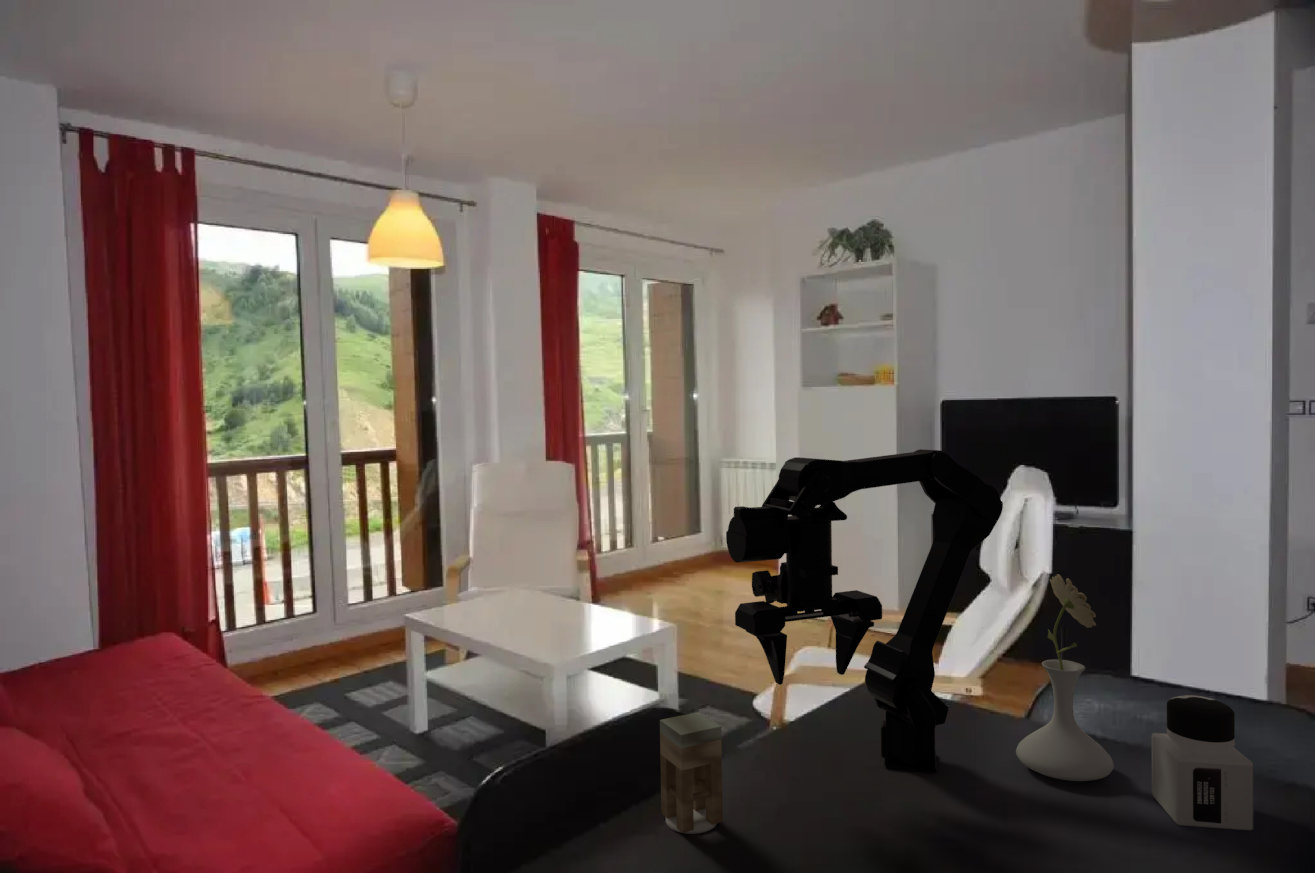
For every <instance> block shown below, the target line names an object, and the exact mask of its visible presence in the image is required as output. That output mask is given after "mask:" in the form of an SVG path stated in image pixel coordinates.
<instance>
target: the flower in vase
mask: <svg viewBox="0 0 1315 873" xmlns="http://www.w3.org/2000/svg"><path fill="white" fill-rule="evenodd" d="M1049 582H1050V584H1051V589H1052V592H1053V594H1054V596H1055V597H1056V598H1057V599H1058V600H1059V601H1058V602H1060V604H1061V605H1062V607H1061V609H1060V611H1059V614H1058V615H1057V616H1058V617H1057V619H1056V621H1055V624H1054V628H1053V633H1052V632H1051V630H1050V629H1047V631H1048V632H1047V633H1048V634H1047V638H1048V640H1051V641H1052V642H1053V643H1054V647H1055V651H1056V652H1055V654H1056V655H1057V659H1047V660H1044V661H1042V662H1041V665H1042V667H1043V668H1044V669H1045V671H1046V673H1047V674H1048V676H1049V678H1050V682H1051V686H1052V692H1053V713H1052V714H1053V715H1052V718H1051V720H1050V721H1049V722H1048V723H1047V724H1045V725H1044V726H1042V727H1040V728H1038V729H1037V730H1035V731H1033V732H1032V733H1030V734H1028V735H1026V736H1025V737H1024V738H1023V739H1022V740H1021V741H1019V743H1018V744H1017V747H1016V749H1015V754H1016V756H1017V757H1018V759H1019V761H1020V762H1021V763H1022V764H1023V765H1024V766H1025V767H1027V768H1028V769H1030V770H1033V771H1034V772H1037V773H1039V774H1041V775H1043V776H1046V777H1049V778H1053V779H1057V780H1058V779H1059V780H1064V781H1070V782H1072V781H1073V782H1087V781H1097V780H1100V779H1104V778H1106V777H1108V776H1109V775H1110V774H1111V773H1112V771H1113V770H1114V768H1115V765H1114V761H1113V759H1112V757H1111V755H1110V754H1109V753H1108V752H1107V751H1106V750H1105V748H1104V747H1103V746H1102V745H1101V744H1099V743H1098V742H1097V741H1096V740H1094V739H1093V738H1092V737H1091V736H1089V734H1087V733H1086V732H1085V731H1084V730H1083V729H1081V727H1080V726H1079V725H1078V724H1077V721H1076V720H1075V715H1074V694H1075V689H1076V686H1077V682H1078V680H1079V678H1080V675H1081V674H1082V673H1083V672H1084V670H1086V666H1085V665H1083V664H1081V663H1079V662H1076V661H1074V660H1073V661H1072V660H1067V659H1062V656H1061V653H1064V652H1066V651H1067V650H1070V649H1073V648H1076V647H1078V644H1077V643H1076V642H1075V641H1074V642H1073V643H1071V645H1070V646H1067V647H1064V648H1061V649H1060V650H1059V644H1058V640H1057V639H1058V638H1057V630H1058V626H1059V623H1060V621H1061V619H1062V616H1063V614H1064V612H1065V611H1066V612H1067V613H1068V614H1070V615H1071V616H1072V618H1073V619H1074V620H1076V621H1077V622H1078V623H1079V624H1080V625H1082V626H1085V628H1086V629H1088V628H1089V629H1090V628H1093V627H1096V626H1097V623H1096V621H1095V620H1094V618H1096V617H1097V615H1096V613H1095V612H1094V610H1092V609H1091V608H1092V607H1091V605H1090V604H1089V603H1087V600H1088V598H1087V595H1086V594H1084V593H1083V592H1079V590H1078V588H1077V587H1076V586H1075V585H1073V582H1072V580H1071V579H1070V578H1066V579H1065V581H1064V578H1063V576H1061V574H1058V573H1057V574H1056V575H1054V576H1051V578H1049Z"/></svg>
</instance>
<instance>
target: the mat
mask: <svg viewBox="0 0 1315 873" xmlns="http://www.w3.org/2000/svg"><path fill="white" fill-rule="evenodd" d="M693 816H694V830H691V831H688V832H684V833H682V832H681V831H680V830H679V829H678V828H677V816H674V817H670V818H666V817H665V825H666V826H667V827H668V828H669V829H671V830H672V831H674V832H677V833H681V834H687V835H697V834H705V833H707V832H709V831H711V830H713V829H714V828H716V827H717V825H718V823H717V824H713V825H712V824H711V823H710V822H708V821H707V820H706V808H704V809H701V810H697V811H695V810H694V809H693Z"/></svg>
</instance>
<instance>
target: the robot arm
mask: <svg viewBox="0 0 1315 873" xmlns="http://www.w3.org/2000/svg"><path fill="white" fill-rule="evenodd" d="M779 470H780V471H779V474H778V480H777V481H776V483H775V485H774V486H773V487H772V489H771V491H770V492H769V493H768V495H767V497H766V498H765V500H764V501H763V503H762V505H761V506H756V507H755V506H754V507H748V506H734V508H733V516H732V517H731V519H730V521H729V523H728V526H727V530H726V536H725V537H726V538H725V540H726V546H727V547H726V548H727V551H728V554H729V555H730V557H731V560H733V562H735V563H737V564H738V563H748V562H749V563H750V562H761V561H762V562H763V561H773V560H780V559H782V558H783V556H784V555H786V556H785V559H786V560H785V562H781V563H780V565H779V574H776V575H771V573H770V571H769V570H767V569H766V570H758V571H754V572H752V573H751V589H752V594H753V596H754V597H756V598H757V597H759V598H760V597H764V598H765V600H762V601H752V602H743V603H740V604H739V605H738V607H737V609H736V610H735V611H734V618H735V619H734V621H735V622H734V625H735V626H736V627H738V628H741V629H742V630H745V632H746V633H748V634H750V635H752V636H754V637H755V638H756V639H757V640H758V642H759V643H760V645H761V647H762V650H763V652H764V654H765V658H766V659H767V662H768V664H769V665H768V666H769V668H770V671H771V673H772V676H773V679H774V682H775V683H776V684H778V685H780V686H782V685H783V683H784V678H785V670H786V660H787V658H786V656H787V643H788V642H787V641H788V634H786V633H784V632H782V631H783V630H784V628H785V627H786V623H788V622H789V623H790V622H795V621H803V620H810V619H811V620H812V619H820V618H827V617H830V619H831V621H832V625H833V626H834V630H835V665H836V672H837V674H839V675H841V676H843V675H845V673H846V671H847V670H848V667H849V666H850V663H851V661H852V659H853V657H854V655H855V652H857V649H858V647H859V645H860V643H861V642H862V640H863V638H864V637H865V635H866V633H867V632H868V630H869V629H870V628H873V627H875V622H874V621H879V620H883V604H882V602H881V601H880V598H878V596H876V595H873V594H870V593H867V592H864V591H861V590H858V589H857V590H848V591H845V590H844V591H838V592H835V593H834V594H833V576H836V575H837V576H838V575H839V566H837V565H833V544H832V542H833V540H832V536H833V535H832V532H833V531H832V522H835V521H837V522H838V521H839V522H840V521H846V520H847V519H848V515H847V514H846V513H845V512H843V510H842V509H840V508H839V507H838V506H837V504H836V501H838V500H842V499H845V498H846V497H847V496H849V495H850V494H851V495H852V493H854V492H857V491H860V490H865V489H866V490H867V489H872V488H880V487H886V486H893V485H902V484H909V483H910V484H911V483H914V482H915V483H916V482H919V484H920V486H921V488H922V490H923V493H924V495H926V496H927V497H928V498H929V499H930V500H931V501H932V502H933V503H934V507H933V511H932V516H931V517H932V523H933V524H932V525H933V533H934V538H933V542H932V543H931V546H930V549H929V552H928V554H927V555H926V556H927V557H926V559H925V562H924V564H923V567H922V569H921V571H920V573H919V577H918V579H917V581H916V584H915V585H914V586H915V587H914V589H913V592H912V594H911V597H910V599H909V602H908V604H907V607H906V609H905V612H904V613H903V614H904V615H903V617H902V619H901V622H900V624H899V627H898V629H897V632H896V633H895V635H894V636H893V637H892V638H890V640H888V641H887V642H882V641H880V640H876V641H875V642H874V644H873V647H872V650H871V653H870V657H869V659H868V660H867V662H866V663H865V664H864V665H863V668H864V669H865V670H866V672H865V676H864V684H866V688H867V691H868V693H869V694H870V695H871V696H872V697H873V698H874V701H875V704H876V707H877V708H878V709H882V710H884V711H885V720H882V721H881V727H880V740H881V742H880V750H881V751H880V753H881V754H880V755H881V757H882V758H884V767H886V768H887V769H888V768H889V769H897V770H905V771H907V770H908V771H917V772H926V773H937V771H938V770H937V752H936V727H937V726H939V725H945V723H946V720H947V717H948V713H949V707H948V706H947V705H946V704H945V703H944V702H943V701H942V700H941V699H940V698H939V697H938V696H937V695H936V694H935V693H934V692H933V685H934V680H935V676H936V672H935V663H934V655H933V651H934V646H935V644H936V642H937V640H938V638H939V634H940V631H941V629H942V626H943V624H944V621H945V619H946V616H947V615H948V614H947V613H948V611H949V608H950V606H951V603H952V601H953V599H954V595H955V593H956V590H957V588H958V586H959V583H960V580H961V578H962V575H963V573H964V570H965V567H966V565H967V562H968V560H969V557H970V555H971V553H972V551H973V550H974V549H976V547H978V545H980V544H981V543H982V542H983V541H984V540H986V539H987V538H988V537H989V536H990V535H991V533H992V532H993V529H994V528H995V527H996V524H997V523H998V522H999V519H1000V517H1001V516H1002V512H1003V508H1004V505H1003V504H1004V503H1003V501H1002V499H1001V496H1000V494H999V492H998V490H997V489H996V488H995V487H994V486H992V485H990V484H987V483H985V482H984V481H983V480H982V479H981V478H980V477H978V476H977V475H975V474H974V473H972V472H971V471H969V470H968V469H966V468H965V467H963V466H961V465H960V464H958V463H957V462H956V461H955V460H954V459H953V458H952V457H951V456H950V455H949V454H947V453H946V452H944V451H943V450H939V449H938V450H937V449H921V448H919V449H917V450H915V451H911V452H903V453H896V454H889V455H887V454H886V455H880V456H871V457H865V458H858V459H849V460H847V459H846V460H837V459H824V458H823V459H822V458H812V457H811V458H809V457H792V458H789V459H787V460H786V461H784V464H783V466H782V467H781V468H780V469H779ZM817 506H818V507H817ZM774 602H776V603H779V604H785V606H777V605H775V604H773V603H774Z"/></svg>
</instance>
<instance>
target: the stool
mask: <svg viewBox="0 0 1315 873" xmlns="http://www.w3.org/2000/svg"><path fill="white" fill-rule="evenodd" d="M722 740H723V739H722V726H721V725H720V724H718V723H717V722H715V721H714V720H712V719H710V718H709V717H707V716H706V715H704V714H703V713H700V712H699V711H698V712H692V713H687V714H683V715H682V714H681V715H678V716H672V717H667V718H663V719H659V743H660V744H659V746H660V748H659V751H660V752H659V755H660V756H659V758H660V760H659V761H660V803H661V804H660V805H661V806H660V808H661V815H663V816H664V818H665V819H666V818H670V817H674V816H677V828H678V829H679V830H680V831H681V832H682V833H681V834H685V833H684V832H688V831H691V830H694V816H693V809H694V810H695V811H697V810H701V809H704V808H706V820H707V821H708V822H710V823H711V824H712V825H713V824H717V825H718V824H720V823H723V822H724V820H723V819H724V816H723V813H724V812H723V810H724V809H723V759H722V758H723V754H722V753H723V751H722V750H723V749H722V748H723V747H722Z"/></svg>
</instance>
